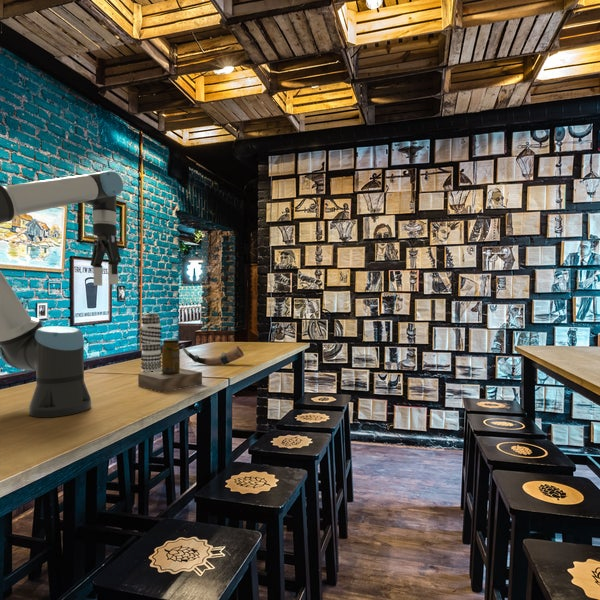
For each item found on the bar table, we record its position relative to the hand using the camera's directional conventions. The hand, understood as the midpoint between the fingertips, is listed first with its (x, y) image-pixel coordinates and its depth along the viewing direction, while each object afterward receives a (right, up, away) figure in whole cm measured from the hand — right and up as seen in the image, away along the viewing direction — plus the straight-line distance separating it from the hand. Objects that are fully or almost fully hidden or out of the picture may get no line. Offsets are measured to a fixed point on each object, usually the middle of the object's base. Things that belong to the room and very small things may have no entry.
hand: (105, 285), depth 145 cm
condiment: (+22, -32, +3) cm, 39 cm away
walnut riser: (+21, -37, +4) cm, 43 cm away
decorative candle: (+3, -36, +37) cm, 52 cm away
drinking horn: (+27, -36, +49) cm, 67 cm away
